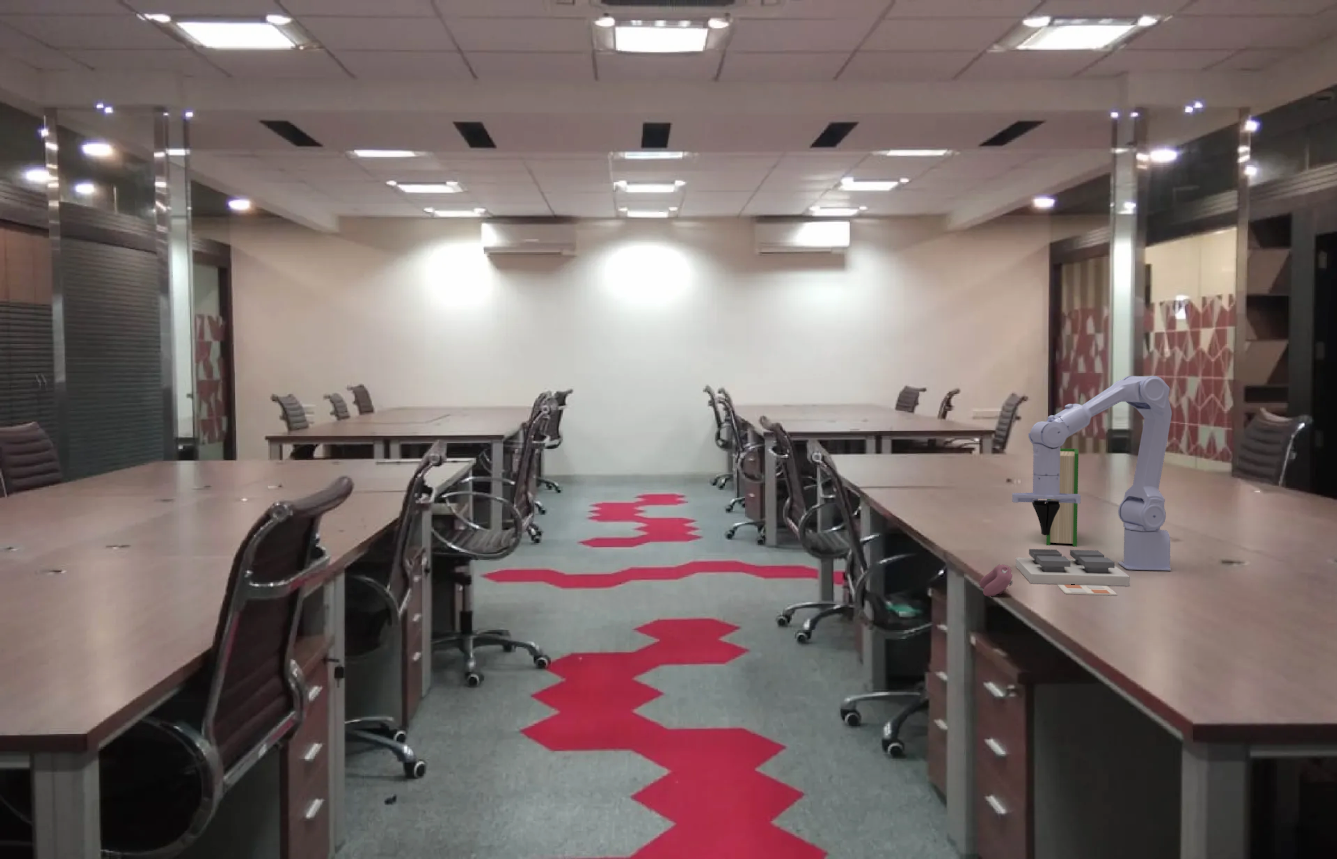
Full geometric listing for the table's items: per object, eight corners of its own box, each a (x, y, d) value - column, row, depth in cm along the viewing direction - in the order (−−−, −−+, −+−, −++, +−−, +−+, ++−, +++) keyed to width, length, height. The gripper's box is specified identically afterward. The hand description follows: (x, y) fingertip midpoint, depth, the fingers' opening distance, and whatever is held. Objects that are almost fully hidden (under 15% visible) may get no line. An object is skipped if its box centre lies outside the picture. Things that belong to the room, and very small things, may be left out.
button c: (1107, 571, 232) (1107, 557, 232) (1114, 576, 226) (1114, 562, 226) (1078, 570, 233) (1078, 556, 233) (1084, 576, 227) (1085, 561, 227)
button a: (1097, 563, 241) (1097, 550, 241) (1103, 568, 235) (1104, 555, 235) (1069, 563, 242) (1070, 549, 242) (1075, 568, 236) (1075, 554, 236)
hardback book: (1076, 546, 272) (1078, 453, 271) (1046, 545, 275) (1047, 453, 273) (1076, 536, 289) (1078, 448, 287) (1047, 535, 291) (1049, 448, 290)
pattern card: (1107, 587, 222) (1107, 585, 222) (1117, 595, 214) (1117, 593, 214) (1057, 586, 224) (1057, 584, 224) (1065, 594, 216) (1065, 592, 216)
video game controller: (1002, 605, 213) (1019, 575, 212) (981, 594, 214) (998, 564, 213) (997, 595, 223) (1013, 566, 222) (977, 584, 223) (993, 555, 222)
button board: (1106, 568, 243) (1106, 559, 243) (1129, 586, 223) (1129, 576, 223) (1015, 566, 246) (1015, 557, 246) (1031, 583, 226) (1031, 574, 226)
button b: (1056, 562, 242) (1056, 549, 242) (1061, 567, 236) (1061, 554, 236) (1028, 562, 243) (1029, 548, 243) (1033, 567, 237) (1033, 553, 237)
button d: (1064, 570, 233) (1064, 556, 233) (1070, 575, 227) (1070, 561, 227) (1036, 569, 234) (1036, 555, 234) (1041, 574, 228) (1041, 560, 228)
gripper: (1015, 476, 236) (1015, 536, 236) (1084, 476, 233) (1083, 537, 234) (1010, 472, 243) (1010, 531, 243) (1077, 473, 240) (1076, 533, 241)
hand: (1045, 534), depth 239 cm, fingers closed
